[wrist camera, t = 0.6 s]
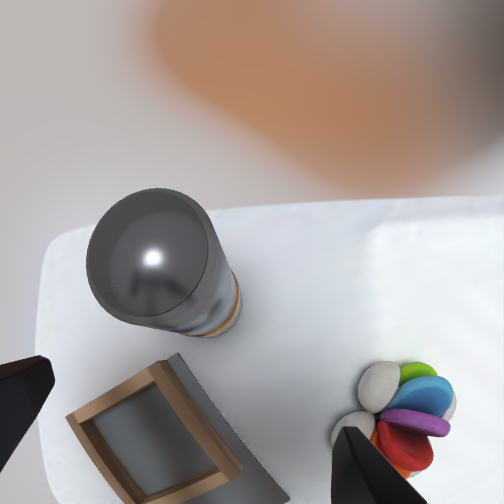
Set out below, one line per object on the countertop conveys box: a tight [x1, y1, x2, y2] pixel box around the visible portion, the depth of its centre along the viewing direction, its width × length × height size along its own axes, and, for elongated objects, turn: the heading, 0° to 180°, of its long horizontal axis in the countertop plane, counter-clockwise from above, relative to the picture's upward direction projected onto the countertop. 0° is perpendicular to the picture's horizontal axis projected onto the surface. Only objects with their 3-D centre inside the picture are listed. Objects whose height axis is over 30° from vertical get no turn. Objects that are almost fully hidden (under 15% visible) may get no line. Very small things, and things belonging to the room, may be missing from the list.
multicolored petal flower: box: [331, 361, 456, 479], centre depth 16 cm, size 8×10×7 cm
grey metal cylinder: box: [86, 188, 242, 337], centre depth 17 cm, size 5×5×13 cm
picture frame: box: [66, 353, 290, 504], centre depth 18 cm, size 11×15×2 cm
